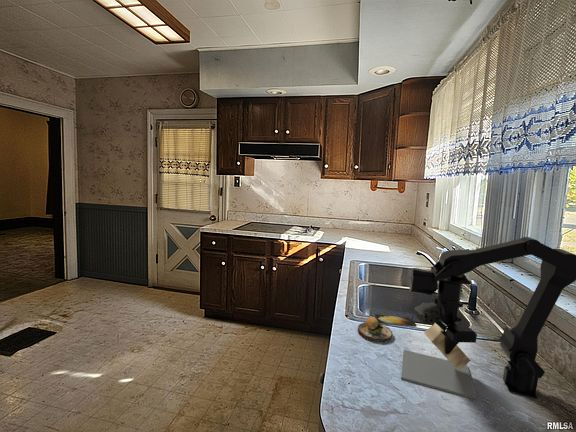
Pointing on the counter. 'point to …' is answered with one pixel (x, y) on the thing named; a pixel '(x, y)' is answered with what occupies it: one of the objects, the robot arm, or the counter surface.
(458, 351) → the block
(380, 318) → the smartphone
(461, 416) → the counter surface
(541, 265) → the robot arm
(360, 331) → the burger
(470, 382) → the mat
